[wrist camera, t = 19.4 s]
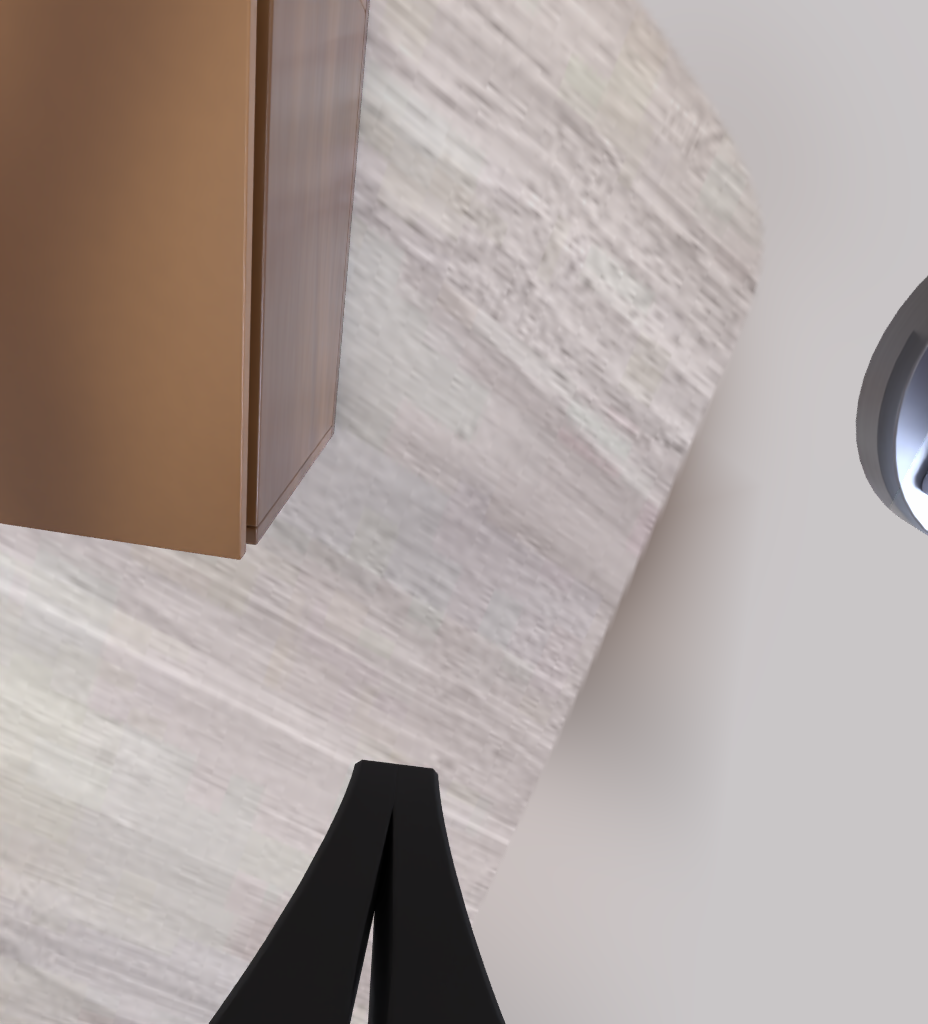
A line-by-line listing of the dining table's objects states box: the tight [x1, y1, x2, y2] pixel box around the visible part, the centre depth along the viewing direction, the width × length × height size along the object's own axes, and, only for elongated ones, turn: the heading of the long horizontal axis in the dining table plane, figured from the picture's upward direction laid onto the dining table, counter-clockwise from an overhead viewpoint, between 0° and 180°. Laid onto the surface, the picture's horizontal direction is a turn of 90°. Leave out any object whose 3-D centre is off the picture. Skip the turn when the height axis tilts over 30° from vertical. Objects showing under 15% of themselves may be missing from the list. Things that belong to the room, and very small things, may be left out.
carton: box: [246, 0, 370, 545], centre depth 12 cm, size 12×11×8 cm
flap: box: [0, 0, 257, 560], centre depth 9 cm, size 6×11×1 cm, turn 170°
